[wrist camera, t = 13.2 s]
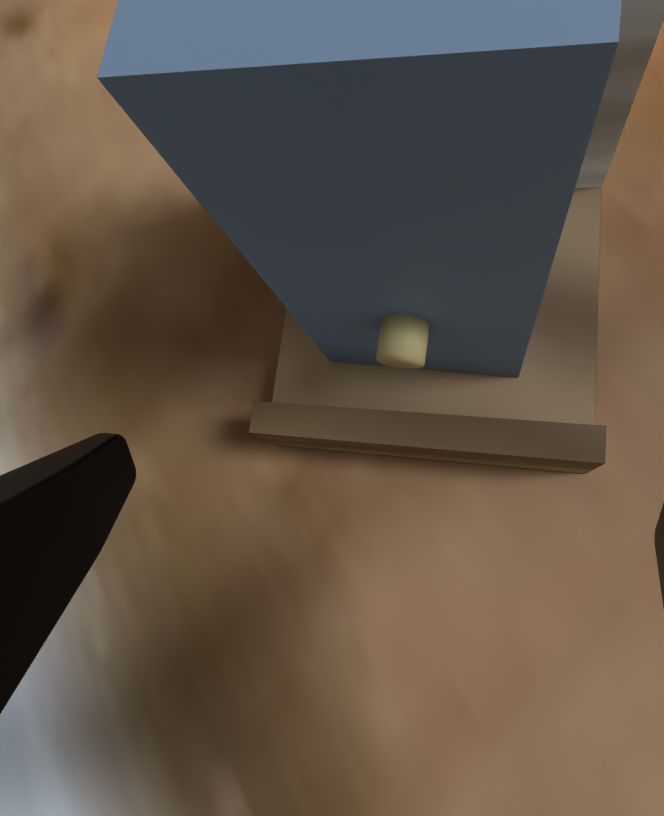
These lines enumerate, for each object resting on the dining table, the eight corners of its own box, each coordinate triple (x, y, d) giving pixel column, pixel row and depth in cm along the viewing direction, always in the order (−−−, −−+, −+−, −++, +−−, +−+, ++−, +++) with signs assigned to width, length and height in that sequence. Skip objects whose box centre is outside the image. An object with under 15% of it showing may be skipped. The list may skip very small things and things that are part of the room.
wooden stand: (585, 473, 16) (738, 392, 7) (276, 445, 19) (85, 357, 10) (595, 165, 19) (725, -219, 9) (314, 177, 21) (188, -111, 12)
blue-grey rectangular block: (515, 409, 16) (611, 132, 5) (325, 390, 18) (77, 147, 7) (536, 200, 18) (651, -393, 6) (357, 199, 19) (194, -275, 8)
